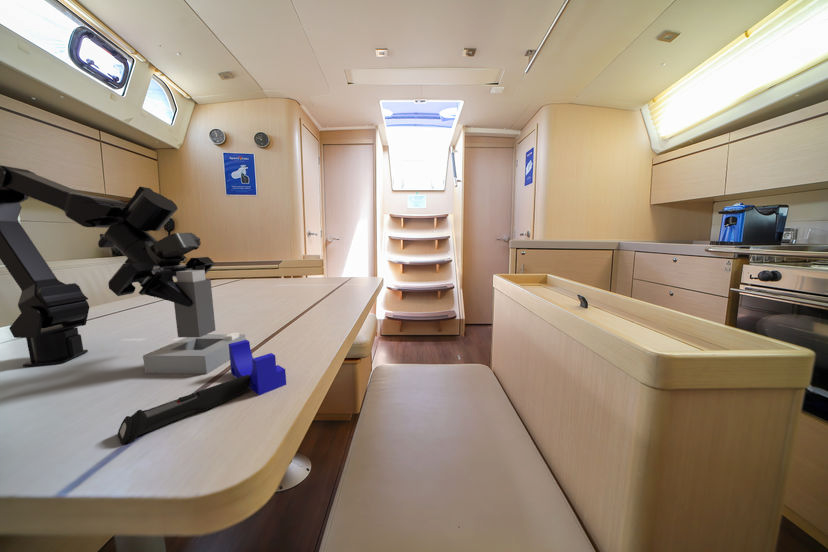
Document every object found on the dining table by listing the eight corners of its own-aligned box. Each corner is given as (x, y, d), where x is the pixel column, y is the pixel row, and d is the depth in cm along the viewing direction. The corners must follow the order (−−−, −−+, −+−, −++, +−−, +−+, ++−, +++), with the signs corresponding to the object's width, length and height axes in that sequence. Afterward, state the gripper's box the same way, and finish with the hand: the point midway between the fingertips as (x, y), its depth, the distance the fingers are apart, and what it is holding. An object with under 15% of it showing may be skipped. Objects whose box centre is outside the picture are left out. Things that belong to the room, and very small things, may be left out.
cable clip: (286, 385, 50) (284, 352, 49) (259, 396, 46) (256, 361, 45) (256, 366, 57) (254, 337, 56) (231, 375, 54) (228, 344, 53)
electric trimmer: (255, 395, 47) (254, 376, 47) (122, 449, 35) (118, 424, 34) (245, 388, 49) (244, 370, 49) (117, 436, 37) (114, 413, 37)
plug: (178, 337, 57) (170, 272, 55) (195, 330, 61) (189, 269, 60) (199, 337, 57) (192, 272, 55) (215, 330, 61) (209, 269, 60)
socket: (145, 373, 54) (142, 351, 54) (195, 348, 66) (193, 330, 66) (206, 373, 54) (204, 351, 53) (246, 349, 66) (244, 331, 65)
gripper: (114, 214, 47) (186, 281, 48) (202, 221, 66) (253, 269, 67) (76, 262, 48) (147, 326, 49) (172, 256, 67) (223, 302, 68)
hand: (200, 302), depth 58 cm, fingers closed on plug, 4 cm apart
